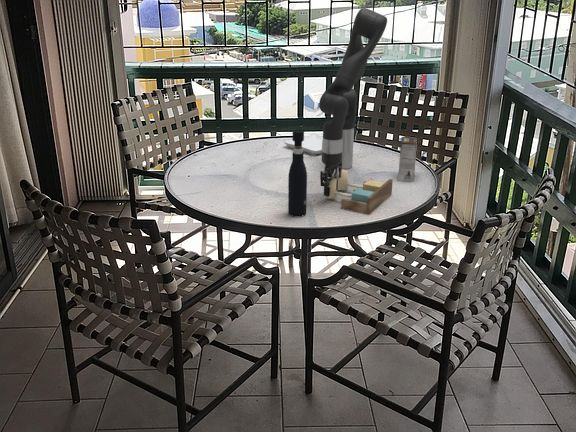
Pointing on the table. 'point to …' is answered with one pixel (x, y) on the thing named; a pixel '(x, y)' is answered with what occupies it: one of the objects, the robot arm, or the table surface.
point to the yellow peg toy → (366, 186)
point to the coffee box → (407, 158)
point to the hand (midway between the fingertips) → (330, 192)
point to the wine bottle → (297, 178)
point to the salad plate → (309, 144)
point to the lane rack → (369, 199)
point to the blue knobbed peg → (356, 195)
